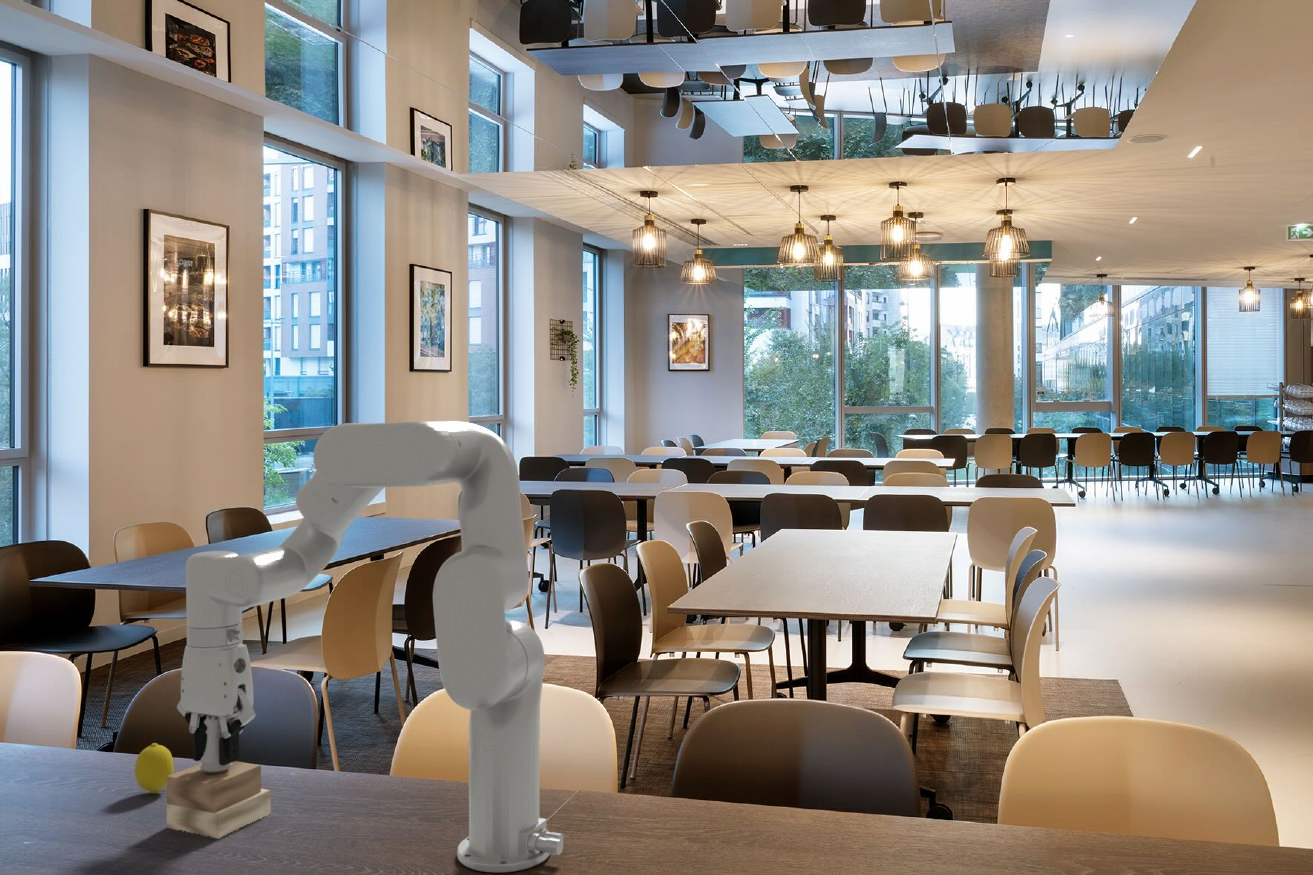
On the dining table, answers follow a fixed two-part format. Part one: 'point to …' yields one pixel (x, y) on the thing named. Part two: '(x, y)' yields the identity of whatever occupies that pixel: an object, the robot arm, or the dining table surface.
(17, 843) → the dining table surface
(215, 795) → the tan top block
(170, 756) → the lemon
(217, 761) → the rook chess piece
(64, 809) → the dining table surface
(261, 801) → the beech base block
